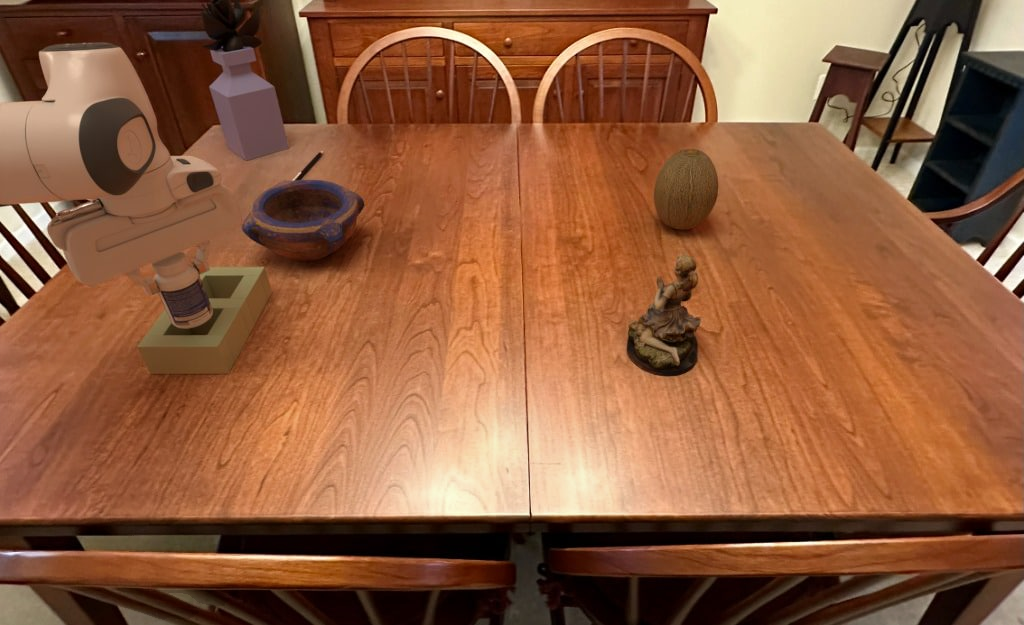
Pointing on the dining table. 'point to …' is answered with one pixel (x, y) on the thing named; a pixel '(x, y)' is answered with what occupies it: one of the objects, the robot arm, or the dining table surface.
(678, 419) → the dining table surface
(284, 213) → the bowl
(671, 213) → the fruit
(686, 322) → the figurine
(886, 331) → the dining table surface
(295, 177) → the pen
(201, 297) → the pill bottle
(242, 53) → the vase
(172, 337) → the compartment tray
